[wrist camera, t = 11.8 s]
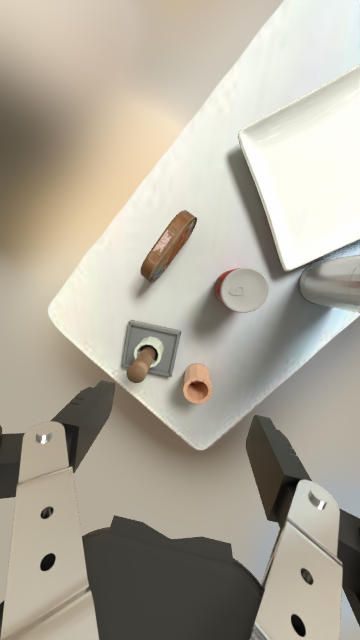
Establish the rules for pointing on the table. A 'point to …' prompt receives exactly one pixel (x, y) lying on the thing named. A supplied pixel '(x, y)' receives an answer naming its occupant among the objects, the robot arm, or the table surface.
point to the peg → (141, 364)
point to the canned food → (242, 289)
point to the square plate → (309, 170)
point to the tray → (135, 336)
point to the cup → (197, 384)
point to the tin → (168, 245)
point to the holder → (155, 343)
